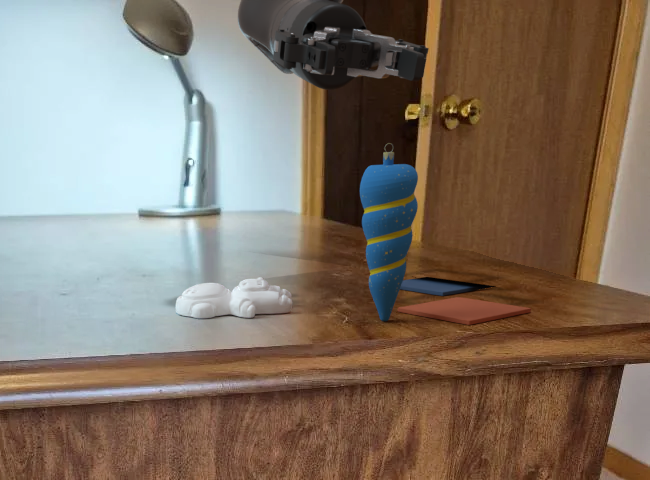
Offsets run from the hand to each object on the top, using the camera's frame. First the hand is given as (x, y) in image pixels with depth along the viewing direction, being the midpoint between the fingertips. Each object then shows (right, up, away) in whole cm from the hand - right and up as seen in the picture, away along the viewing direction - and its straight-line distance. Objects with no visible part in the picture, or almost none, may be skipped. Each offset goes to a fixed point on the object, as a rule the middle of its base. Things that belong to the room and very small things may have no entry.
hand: (375, 64), depth 71 cm
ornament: (+1, -22, +3) cm, 23 cm away
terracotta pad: (+10, -20, +7) cm, 23 cm away
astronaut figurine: (-13, -19, +10) cm, 25 cm away
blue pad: (+11, -13, +20) cm, 27 cm away
